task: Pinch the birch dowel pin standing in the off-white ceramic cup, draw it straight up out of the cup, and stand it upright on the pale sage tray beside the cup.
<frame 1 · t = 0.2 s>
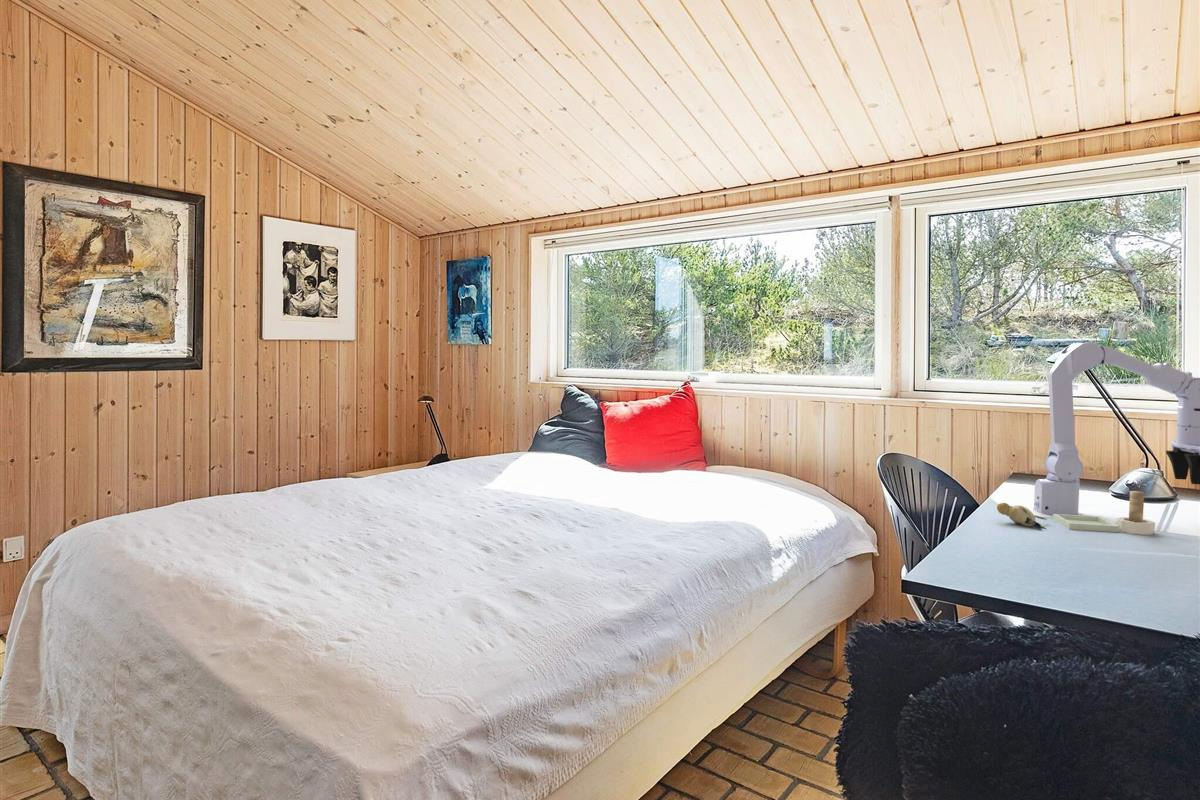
hand: (1188, 481, 179), 10 cm above the table, fingers open, 7 cm apart
pin cup: (1135, 533, 167), on the table
tray: (1084, 527, 172), on the table
dowel pin: (1135, 531, 167), resting on pin cup
decorative bird model: (1025, 527, 174), on the table
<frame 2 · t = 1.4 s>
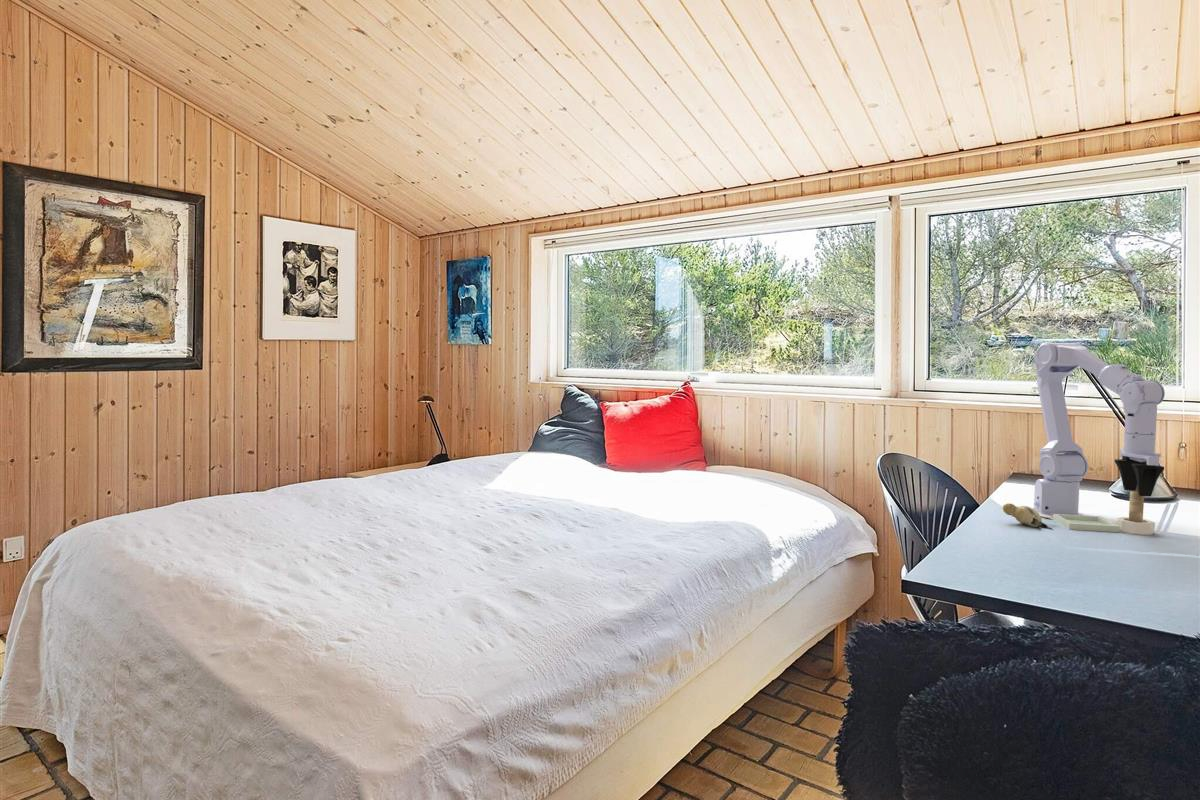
hand: (1137, 493, 166), 9 cm above the table, fingers open, 7 cm apart
decorative bird model: (1032, 528, 173), on the table
everything else where it was.
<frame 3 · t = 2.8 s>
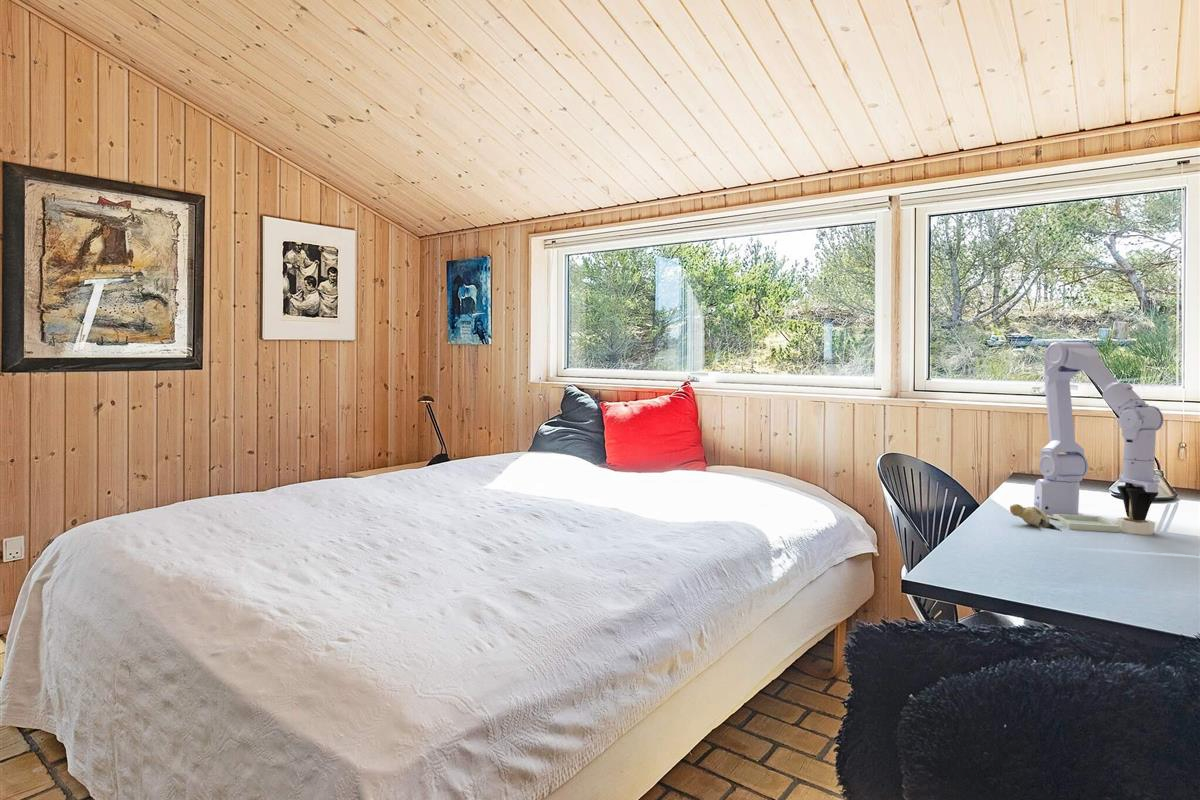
hand: (1135, 518, 166), 3 cm above the table, fingers closed on dowel pin, 3 cm apart
dowel pin: (1135, 531, 167), resting on pin cup, touching gripper
decorative bird model: (1039, 529, 172), on the table
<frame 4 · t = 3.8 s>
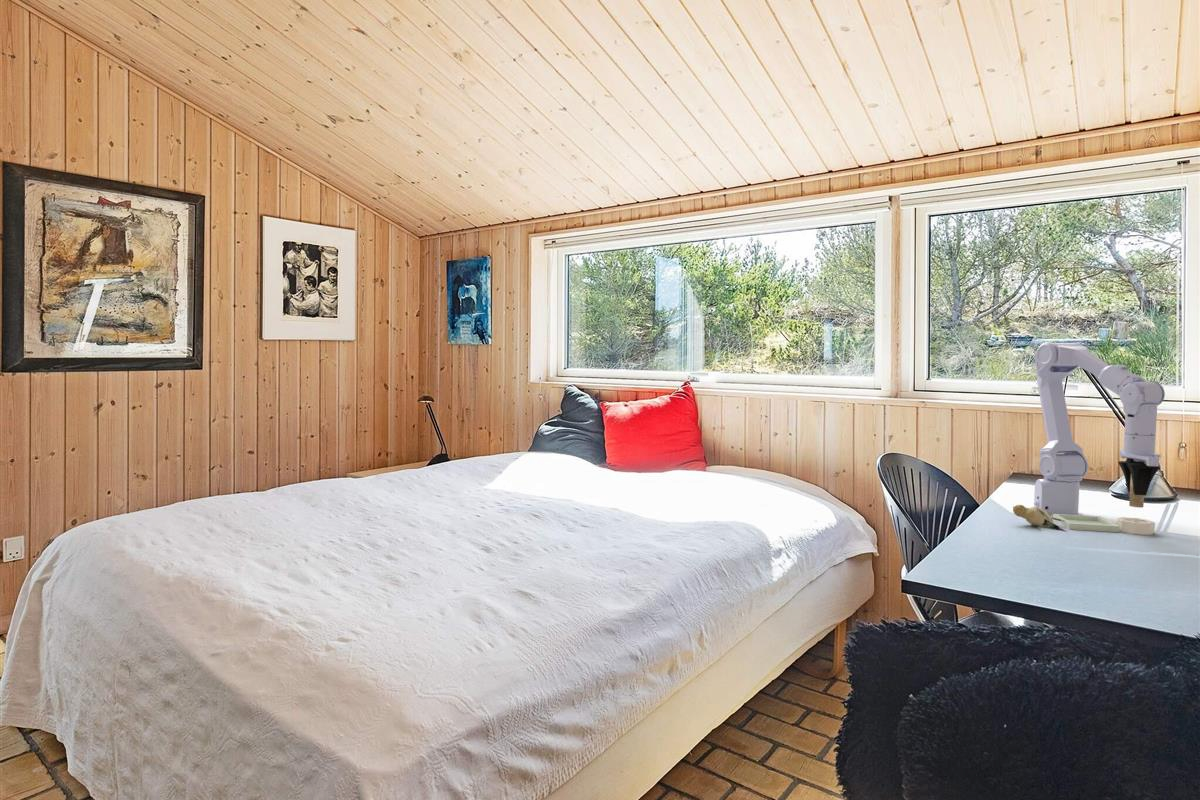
hand: (1136, 493, 166), 9 cm above the table, fingers closed on dowel pin, 3 cm apart
dowel pin: (1136, 506, 166), point 6 cm above the table, touching gripper
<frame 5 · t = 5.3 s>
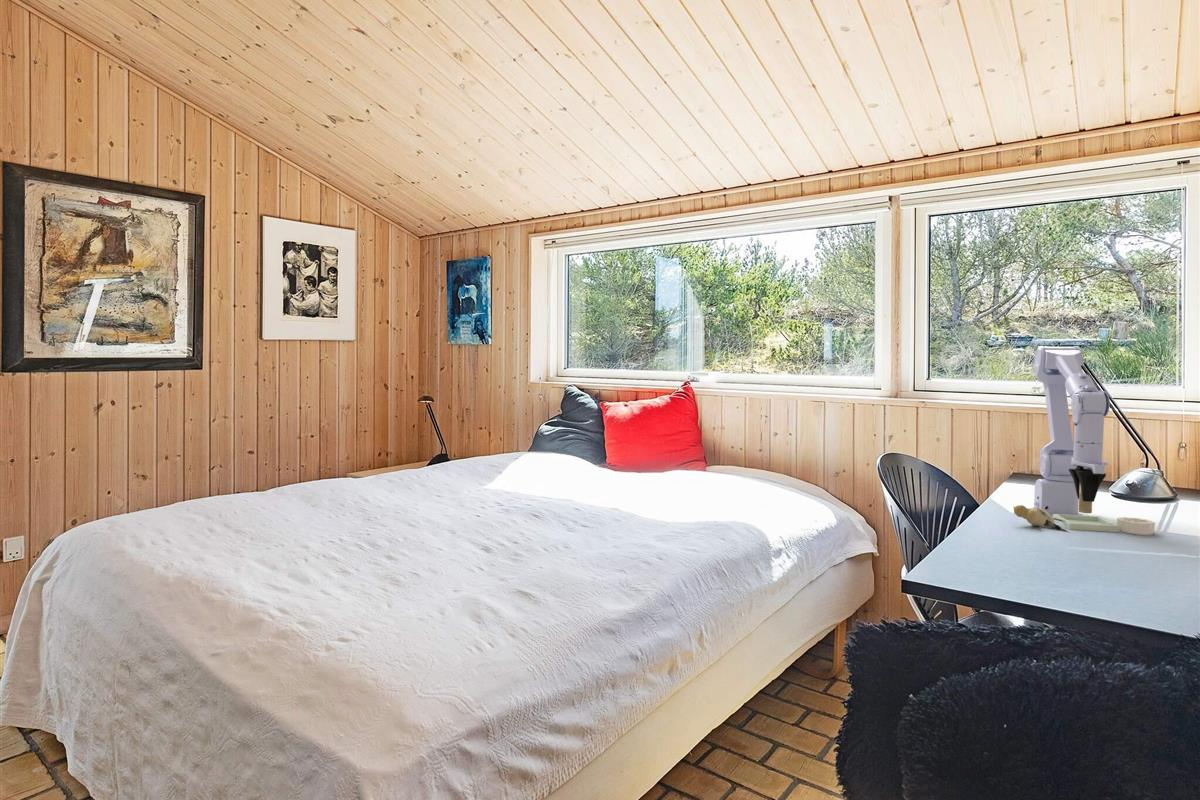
hand: (1085, 500, 172), 6 cm above the table, fingers closed on dowel pin, 3 cm apart
dowel pin: (1085, 512, 172), point 4 cm above the table, touching gripper
when the fingers open (5 cm above the table, at t = 6.3 s): dowel pin stays where it is, resting on tray.
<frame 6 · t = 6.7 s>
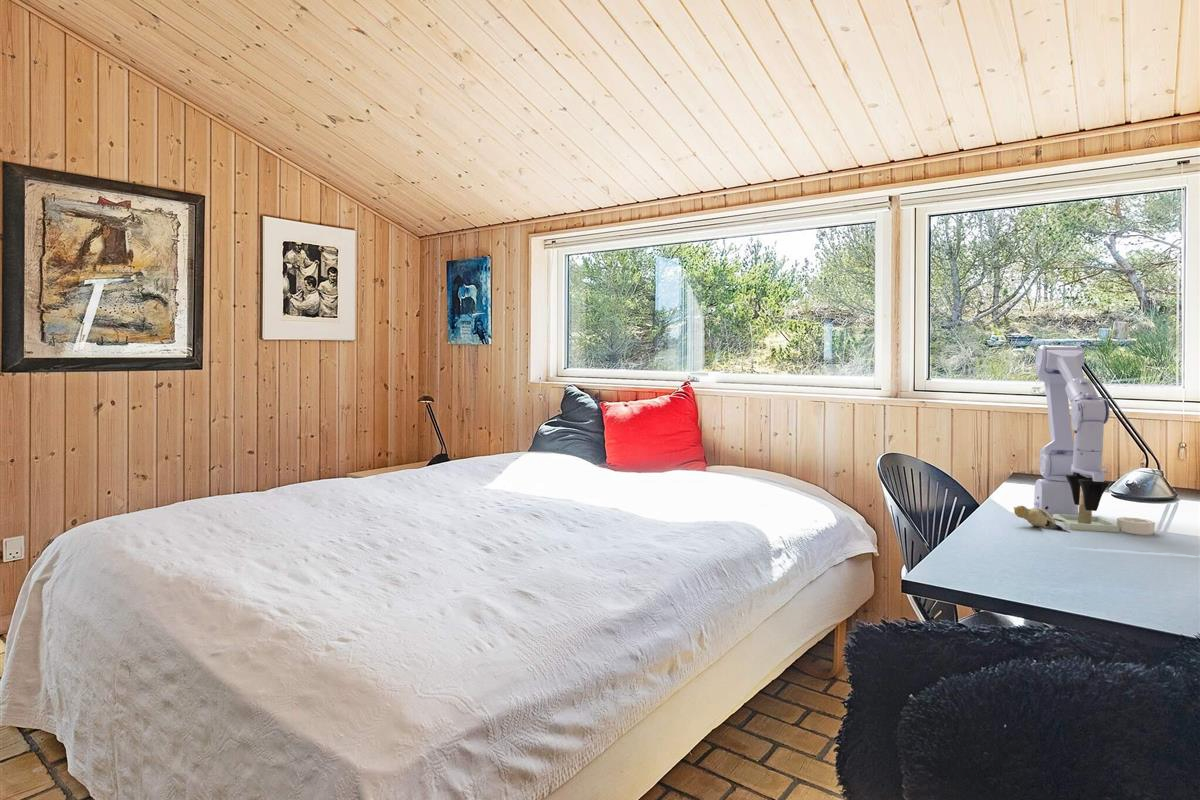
hand: (1085, 507, 172), 5 cm above the table, fingers open, 6 cm apart
dowel pin: (1084, 523, 172), point 1 cm above the table, touching tray
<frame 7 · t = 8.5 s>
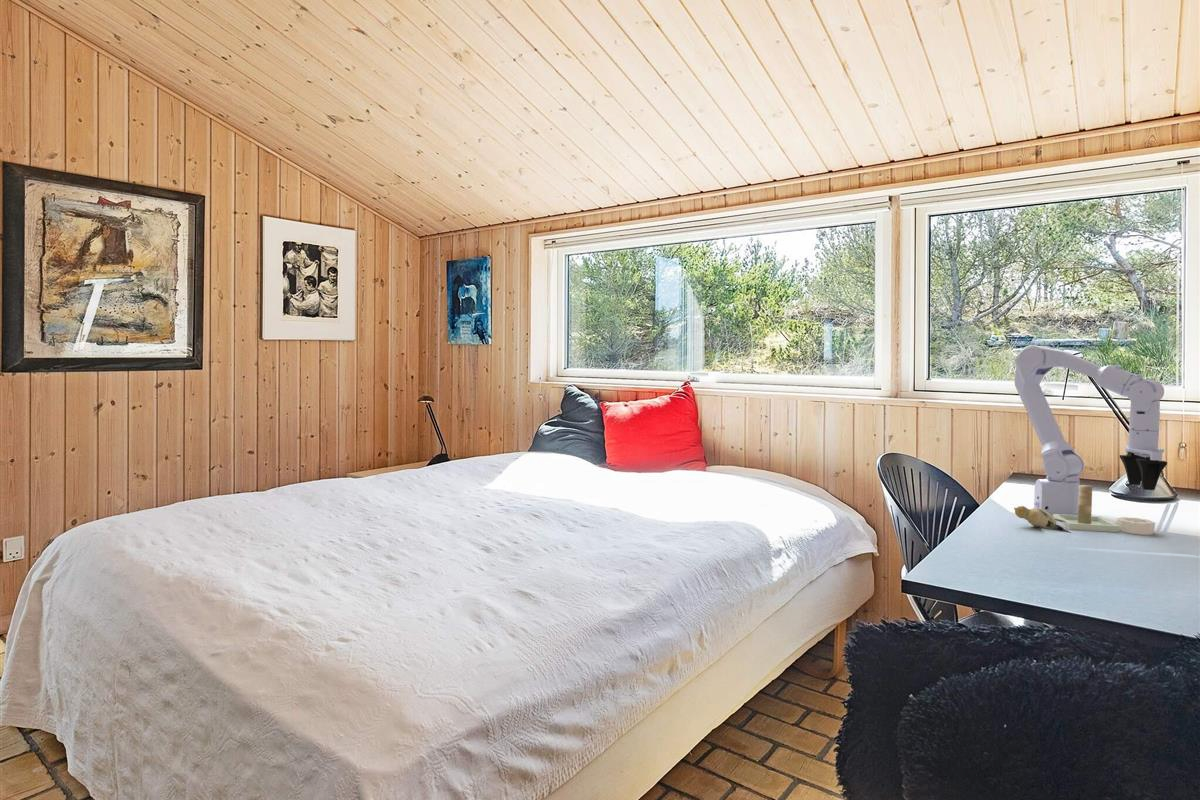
hand: (1141, 487, 173), 9 cm above the table, fingers open, 7 cm apart
decorative bird model: (1045, 530, 170), on the table, touching tray
everything else where it was.
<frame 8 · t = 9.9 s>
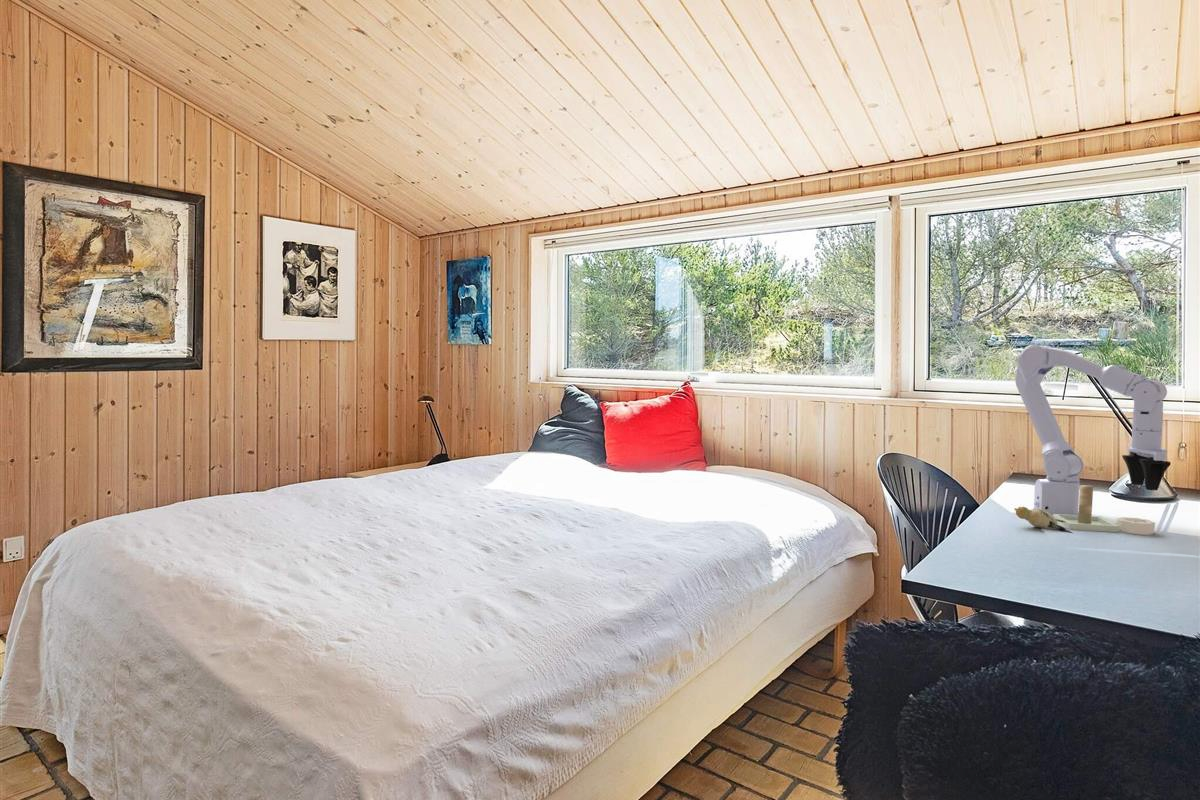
hand: (1144, 487, 174), 9 cm above the table, fingers open, 7 cm apart
decorative bird model: (1047, 531, 170), on the table
everything else where it was.
at the end: dowel pin inside the target area on the tray (0.0 cm from its centre), point 0.8 cm above the tray's base; dowel pin tilted 1°; the gripper is holding nothing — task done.
